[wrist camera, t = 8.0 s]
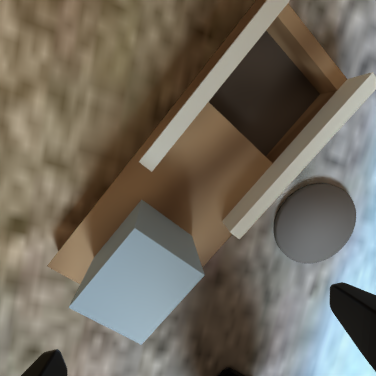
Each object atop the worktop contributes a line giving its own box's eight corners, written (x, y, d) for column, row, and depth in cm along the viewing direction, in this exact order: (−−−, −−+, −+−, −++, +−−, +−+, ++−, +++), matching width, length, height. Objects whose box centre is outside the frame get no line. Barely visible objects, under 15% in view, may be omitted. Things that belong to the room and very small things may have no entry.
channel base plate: (337, 97, 18) (358, 93, 16) (152, 305, 21) (152, 323, 19) (257, -1, 16) (270, -19, 14) (58, 252, 19) (47, 266, 17)
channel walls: (354, 88, 16) (381, 83, 14) (230, 227, 18) (239, 239, 16) (276, -13, 14) (294, -35, 12) (141, 158, 16) (138, 162, 14)
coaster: (365, 215, 22) (371, 218, 21) (309, 273, 23) (313, 277, 22) (317, 165, 20) (321, 166, 19) (257, 231, 21) (260, 234, 20)
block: (191, 235, 18) (204, 275, 13) (145, 288, 18) (141, 344, 13) (141, 199, 16) (134, 228, 12) (93, 257, 17) (68, 307, 12)
